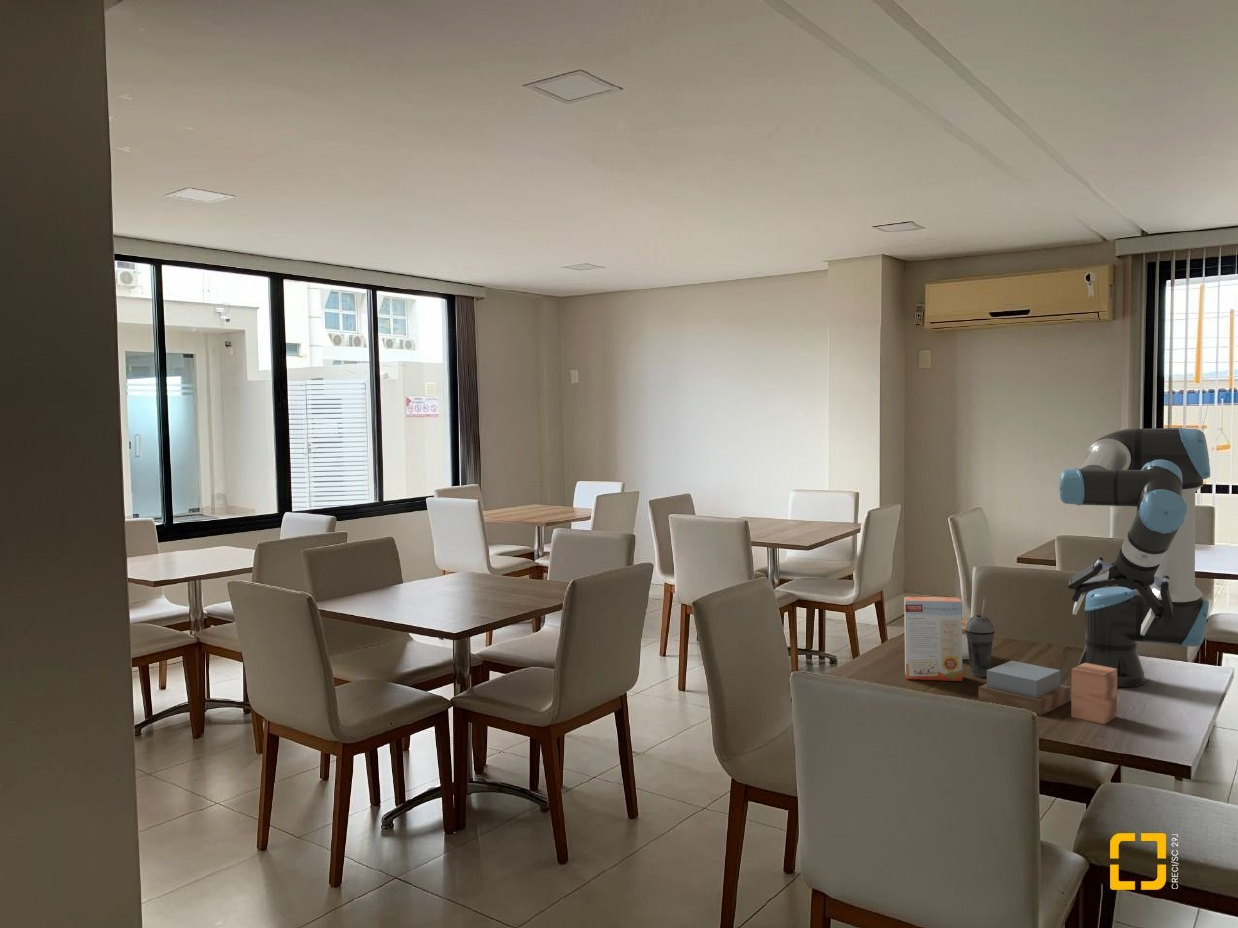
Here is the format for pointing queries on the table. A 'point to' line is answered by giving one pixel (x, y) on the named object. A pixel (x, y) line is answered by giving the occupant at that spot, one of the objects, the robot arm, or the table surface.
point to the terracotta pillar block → (1094, 693)
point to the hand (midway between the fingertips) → (1108, 620)
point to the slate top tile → (1024, 678)
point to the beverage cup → (979, 643)
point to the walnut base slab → (1026, 698)
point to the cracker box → (933, 638)
